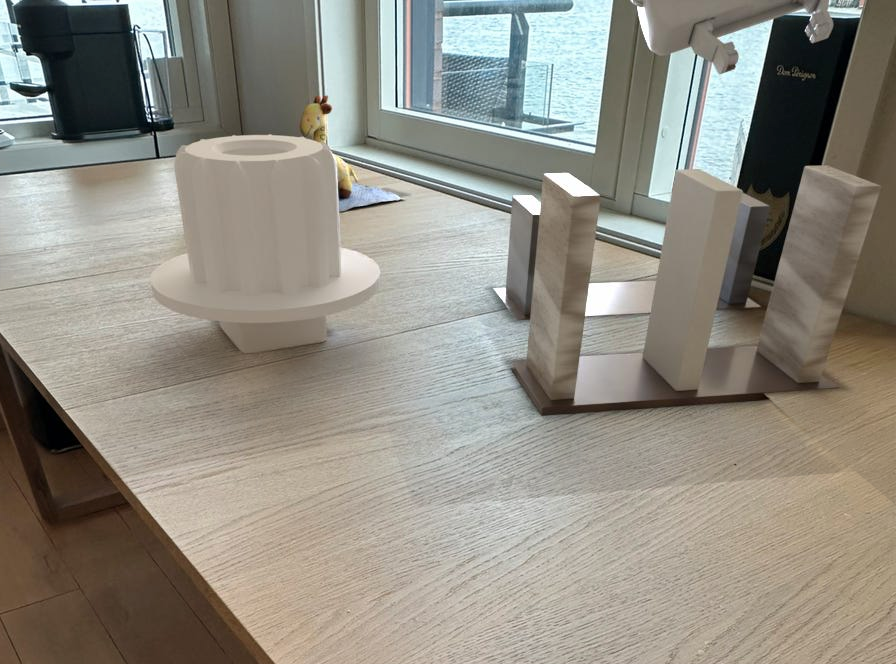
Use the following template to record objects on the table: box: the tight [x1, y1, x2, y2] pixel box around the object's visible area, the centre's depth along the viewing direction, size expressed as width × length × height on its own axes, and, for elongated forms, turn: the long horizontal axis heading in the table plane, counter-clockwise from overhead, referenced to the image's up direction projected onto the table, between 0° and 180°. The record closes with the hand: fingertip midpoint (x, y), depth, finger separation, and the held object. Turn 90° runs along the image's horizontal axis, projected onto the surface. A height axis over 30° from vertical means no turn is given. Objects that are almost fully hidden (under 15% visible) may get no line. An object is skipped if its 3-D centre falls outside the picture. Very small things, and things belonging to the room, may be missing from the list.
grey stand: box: [492, 192, 771, 321], centre depth 104 cm, size 31×12×12 cm, turn 100°
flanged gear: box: [149, 133, 381, 355], centre depth 93 cm, size 25×25×19 cm
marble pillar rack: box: [509, 164, 882, 416], centre depth 83 cm, size 31×12×19 cm, turn 100°
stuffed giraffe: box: [299, 94, 404, 213], centre depth 145 cm, size 16×18×16 cm
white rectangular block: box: [642, 168, 744, 391], centre depth 83 cm, size 2×9×18 cm, turn 10°
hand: (776, 50), depth 81 cm, fingers open, 8 cm apart
